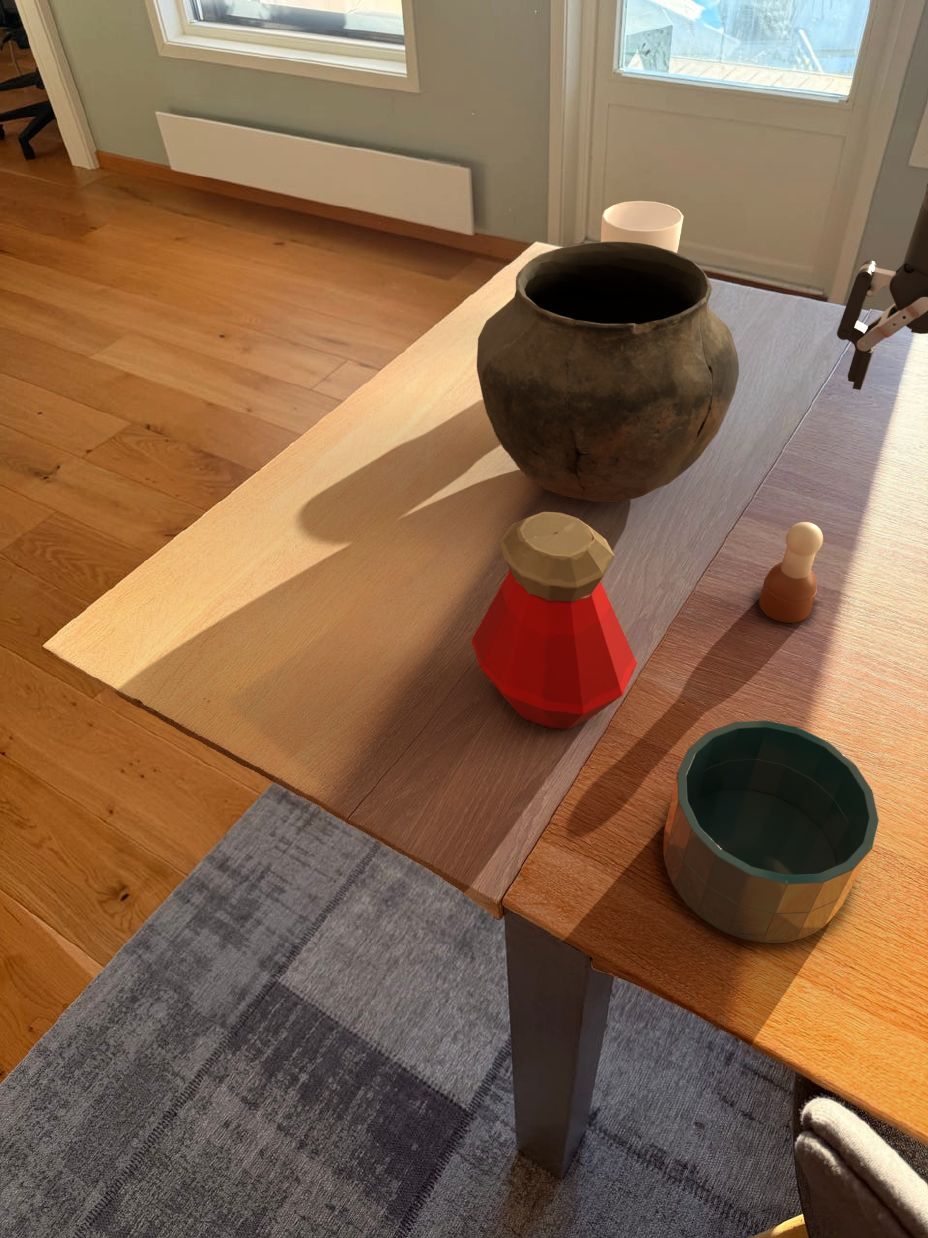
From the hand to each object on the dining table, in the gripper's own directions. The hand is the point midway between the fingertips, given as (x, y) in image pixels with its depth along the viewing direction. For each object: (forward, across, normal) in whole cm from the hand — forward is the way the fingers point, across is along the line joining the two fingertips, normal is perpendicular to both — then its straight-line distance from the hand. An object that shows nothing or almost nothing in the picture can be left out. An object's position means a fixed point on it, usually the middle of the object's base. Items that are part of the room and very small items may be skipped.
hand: (909, 396), depth 79 cm
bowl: (+24, 0, -34) cm, 42 cm away
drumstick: (+24, -5, -4) cm, 25 cm away
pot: (+24, -31, +10) cm, 40 cm away
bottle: (+24, -22, -25) cm, 41 cm away
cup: (+24, -40, +47) cm, 67 cm away
